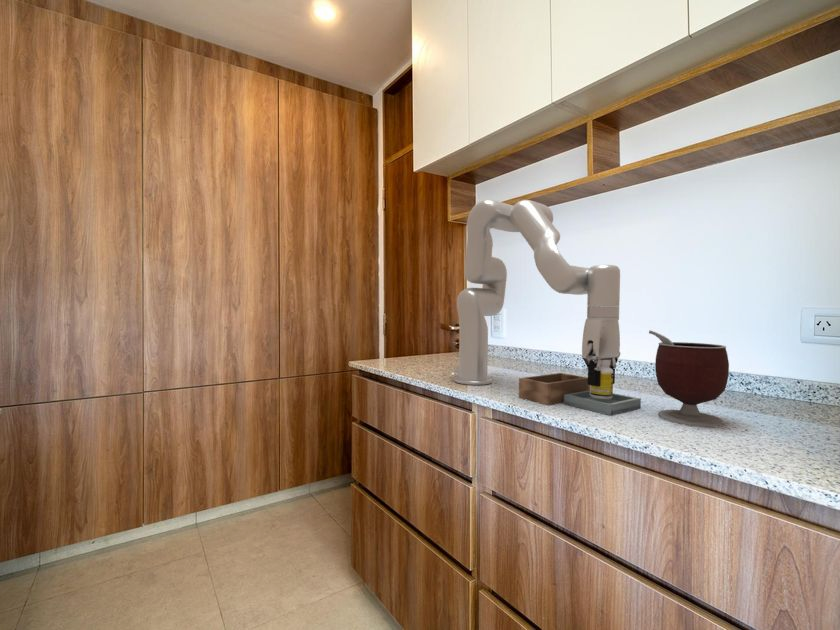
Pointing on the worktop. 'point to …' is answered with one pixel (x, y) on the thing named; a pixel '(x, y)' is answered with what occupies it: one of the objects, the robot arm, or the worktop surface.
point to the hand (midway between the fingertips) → (601, 383)
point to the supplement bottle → (603, 381)
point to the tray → (602, 403)
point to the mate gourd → (691, 378)
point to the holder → (551, 387)
